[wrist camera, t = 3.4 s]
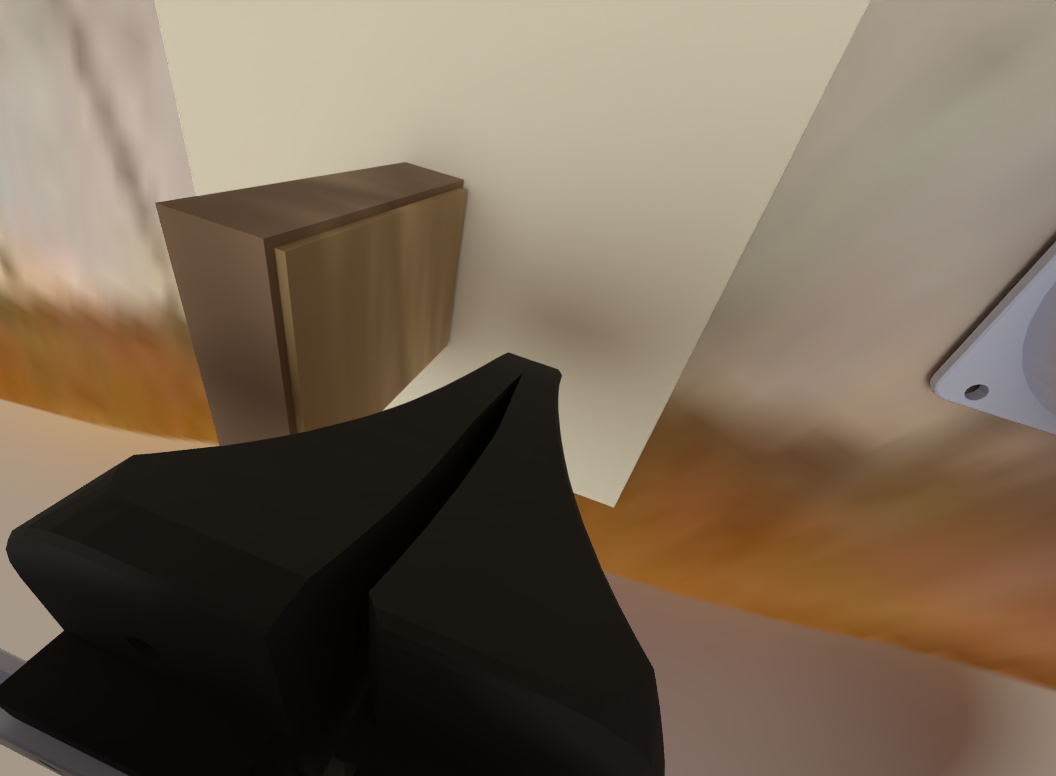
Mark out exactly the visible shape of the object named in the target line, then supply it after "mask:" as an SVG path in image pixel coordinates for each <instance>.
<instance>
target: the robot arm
mask: <svg viewBox="0 0 1056 776" xmlns="http://www.w3.org/2000/svg"><path fill="white" fill-rule="evenodd" d="M561 378H562V374H561V372H560V371H559V369H556V368H553V367H550V366H547V365H544V364H541V363H538V362H535V361H532V360H529V359H527V358H524V357H521V356H518V355H515V354H512V353H509V352H508V353H505V354H503V355H501V356H500V357H498V358H496V359H494V360H492V361H491V362H489V363H487V364H485V365H483V366H482V367H480V368H478V369H476V370H474V371H473V372H471V373H469V374H467V375H465V376H463V377H461V378H459V379H457V380H455V381H453V382H451V383H449V384H447V385H445V386H443V387H441V388H439V389H437V390H435V391H432V392H430V393H428V394H425V395H423V396H421V397H419V398H416V399H414V400H412V401H409V402H407V403H404V404H401V405H399V406H396V407H393V408H390V409H387V410H384V411H381V412H378V413H375V414H372V415H369V416H365V417H362V418H358V419H354V420H350V421H346V422H342V423H339V424H335V425H331V426H327V427H323V428H319V429H315V430H311V431H306V432H301V433H296V434H291V435H286V436H281V437H275V438H269V439H263V440H257V441H251V442H245V443H238V444H231V445H224V446H216V447H207V448H198V449H189V450H181V451H171V452H162V453H152V454H140V455H133V456H131V457H129V458H128V459H126V460H125V461H123V462H121V463H120V464H118V465H117V466H115V467H113V468H112V469H110V470H108V471H107V472H105V473H104V474H102V475H100V476H99V477H97V478H96V479H94V480H92V481H91V482H90V483H88V484H86V485H84V486H83V487H81V488H80V489H78V490H76V491H75V492H74V493H72V494H70V495H68V496H67V497H65V498H64V499H62V500H60V501H59V502H57V503H56V504H54V505H52V506H51V507H49V508H48V509H46V510H44V511H43V512H41V513H40V514H38V515H36V516H35V517H33V518H32V519H30V520H28V521H27V522H25V523H24V524H22V525H20V526H19V527H17V528H16V529H14V530H12V532H11V535H10V537H9V539H8V542H7V546H6V551H7V554H8V558H9V561H10V563H11V564H12V566H13V567H14V569H15V570H16V571H17V573H18V574H19V576H20V577H21V579H22V580H23V581H24V582H25V583H26V585H27V586H28V587H29V588H30V589H31V591H32V592H33V593H34V594H35V595H36V597H37V598H38V599H39V600H40V602H41V603H42V604H43V605H44V606H45V608H46V609H47V610H48V611H49V612H50V614H51V615H52V616H53V617H54V619H55V620H56V621H57V622H58V623H59V624H60V626H61V627H62V628H63V629H64V631H63V632H62V633H61V634H60V635H58V636H57V637H56V638H55V639H54V640H52V641H51V642H50V643H49V644H48V645H46V646H45V647H44V648H43V649H42V650H40V652H38V653H37V654H36V655H35V656H34V657H32V658H31V659H30V660H29V661H25V660H23V659H21V658H19V657H17V656H15V655H12V654H11V653H8V652H6V651H4V650H2V649H0V744H1V745H4V746H5V747H7V748H9V749H11V750H13V751H15V752H17V753H19V754H21V755H23V756H25V757H27V758H29V759H30V760H32V761H34V762H37V763H38V764H40V765H42V766H44V767H46V768H48V769H50V770H52V771H54V772H56V773H57V774H60V775H61V776H665V759H664V746H663V733H662V723H661V714H660V705H659V699H658V692H657V685H656V679H655V673H654V669H653V667H652V665H651V663H650V662H649V660H648V658H647V656H646V654H645V652H644V651H643V649H642V647H641V645H640V644H639V642H638V640H637V638H636V637H635V634H634V633H633V631H632V629H631V627H630V625H629V623H628V621H627V619H626V618H625V615H624V614H623V612H622V610H621V608H620V606H619V604H618V602H617V600H616V598H615V596H614V594H613V592H612V590H611V588H610V585H609V583H608V581H607V579H606V577H605V575H604V572H603V570H602V568H601V566H600V563H599V561H598V558H597V556H596V554H595V551H594V549H593V546H592V544H591V541H590V539H589V536H588V534H587V531H586V529H585V526H584V524H583V521H582V518H581V515H580V512H579V509H578V506H577V503H576V500H575V497H574V493H573V490H572V486H571V483H570V479H569V475H568V471H567V466H566V462H565V457H564V451H563V446H562V439H561V432H560V421H559V408H558V396H559V384H560V381H561ZM977 384H981V385H980V387H979V388H978V389H977V390H975V391H974V392H970V393H965V391H966V389H968V388H969V387H971V386H973V385H977ZM930 387H931V389H932V390H933V392H934V393H935V394H936V395H937V396H938V397H940V398H942V399H944V400H947V401H950V402H953V403H957V404H960V405H963V406H966V407H969V408H972V409H975V410H979V411H982V412H985V413H988V414H991V415H994V416H998V417H1001V418H1004V419H1007V420H1010V421H1013V422H1017V423H1020V424H1023V425H1026V426H1029V427H1032V428H1036V429H1039V430H1042V431H1045V432H1048V433H1051V434H1055V435H1056V242H1055V243H1054V244H1053V245H1052V246H1051V247H1050V248H1049V249H1048V250H1047V251H1046V253H1045V254H1044V255H1043V256H1042V257H1041V258H1040V259H1039V260H1038V261H1037V262H1036V263H1035V265H1034V266H1033V267H1032V268H1031V269H1030V270H1029V271H1028V272H1027V273H1026V274H1025V276H1024V277H1023V278H1022V279H1021V280H1020V281H1019V282H1018V283H1017V284H1016V285H1015V286H1014V288H1013V289H1012V290H1011V291H1010V292H1009V293H1008V294H1007V295H1006V296H1005V297H1004V299H1003V300H1002V301H1001V302H1000V303H999V304H998V305H997V306H996V307H995V308H994V309H993V311H992V312H991V313H990V314H989V315H988V316H987V317H986V318H985V319H984V320H983V322H982V323H981V324H980V325H979V326H978V327H977V328H976V329H975V330H974V331H973V332H972V334H971V335H970V336H969V337H968V338H967V339H966V340H965V341H964V342H963V343H962V345H961V346H960V347H959V348H958V349H957V350H956V351H955V352H954V353H953V354H952V355H951V357H950V358H949V359H948V360H947V361H946V362H945V363H944V364H943V365H942V366H941V368H940V369H939V370H938V371H937V372H936V373H935V374H934V375H933V377H932V379H931V380H930Z"/></svg>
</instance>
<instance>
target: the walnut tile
mask: <svg viewBox="0 0 1056 776" xmlns="http://www.w3.org/2000/svg"><path fill="white" fill-rule="evenodd" d="M463 185H464V179H460V178H457V177H454V176H450V175H447V174H444V173H440V172H437V171H433V170H430V169H427V168H423V167H420V166H417V165H413V164H410V163H407V162H402V163H396V164H390V165H384V166H378V167H372V168H366V169H360V170H354V171H347V172H341V173H335V174H329V175H323V176H317V177H311V178H305V179H299V180H292V181H286V182H280V183H274V184H268V185H262V186H256V187H250V188H244V189H237V190H231V191H225V192H219V193H213V194H207V195H201V196H195V197H188V198H182V199H176V200H170V201H164V202H158V203H155V204H156V208H157V211H158V215H159V219H160V223H161V226H162V230H163V234H164V238H165V241H166V245H167V249H168V253H169V256H170V260H171V264H172V268H173V271H174V275H175V279H176V283H177V286H178V290H179V294H180V298H181V301H182V305H183V309H184V313H185V316H186V320H187V324H188V328H189V331H190V335H191V339H192V343H193V347H194V350H195V354H196V358H197V362H198V365H199V369H200V373H201V377H202V380H203V384H204V388H205V392H206V395H207V399H208V403H209V407H210V410H211V414H212V418H213V422H214V425H215V429H216V433H217V437H218V440H219V444H220V446H224V445H231V444H238V443H245V442H251V441H257V440H263V439H269V438H275V437H281V436H286V435H291V434H296V433H301V432H306V431H311V430H315V429H319V428H323V427H327V426H331V425H335V424H339V423H342V422H346V421H350V420H354V419H358V418H362V417H365V416H369V415H372V414H375V413H378V412H381V411H383V410H384V409H385V408H386V407H387V406H388V405H389V404H390V403H391V402H392V401H393V400H394V399H395V398H396V397H397V396H398V395H399V394H400V393H401V392H402V391H403V390H404V389H405V388H406V387H407V386H408V385H409V383H410V382H411V381H412V380H413V379H414V378H415V377H416V376H417V375H418V374H419V373H420V372H421V371H422V370H423V369H424V368H425V367H426V366H427V365H428V364H429V363H430V362H431V361H432V360H433V359H434V358H435V357H436V356H437V355H438V354H439V353H440V352H441V351H442V350H443V349H444V348H445V347H446V346H447V344H448V336H449V328H450V320H451V312H452V304H453V296H454V288H455V280H456V272H457V264H458V256H459V248H460V240H461V232H462V224H463V216H464V208H465V200H466V192H467V189H465V188H463Z"/></svg>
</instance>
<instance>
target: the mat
mask: <svg viewBox="0 0 1056 776" xmlns="http://www.w3.org/2000/svg"><path fill="white" fill-rule="evenodd" d="M154 1H155V6H156V11H157V15H158V20H159V25H160V29H161V34H162V39H163V43H164V48H165V53H166V58H167V62H168V67H169V72H170V76H171V81H172V86H173V90H174V95H175V100H176V104H177V109H178V114H179V119H180V123H181V128H182V133H183V137H184V142H185V147H186V151H187V156H188V161H189V165H190V170H191V175H192V180H193V184H194V189H195V194H196V196H201V195H207V194H213V193H219V192H225V191H231V190H237V189H244V188H250V187H256V186H262V185H268V184H274V183H280V182H286V181H292V180H299V179H305V178H311V177H317V176H323V175H329V174H335V173H341V172H347V171H354V170H360V169H366V168H372V167H378V166H384V165H390V164H396V163H402V162H407V163H410V164H413V165H417V166H420V167H423V168H427V169H430V170H433V171H437V172H440V173H444V174H447V175H450V176H454V177H457V178H460V179H464V185H463V188H465V189H467V192H466V200H465V208H464V216H463V224H462V232H461V240H460V248H459V256H458V264H457V272H456V280H455V288H454V296H453V304H452V312H451V320H450V328H449V336H448V344H447V346H446V347H445V348H444V349H443V350H442V351H441V352H440V353H439V354H438V355H437V356H436V357H435V358H434V359H433V360H432V361H431V362H430V363H429V364H428V365H427V366H426V367H425V368H424V369H423V370H422V371H421V372H420V373H419V374H418V375H417V376H416V377H415V378H414V379H413V380H412V381H411V382H410V383H409V385H408V386H407V387H406V388H405V389H404V390H403V391H402V392H401V393H400V394H399V395H398V396H397V397H396V398H395V399H394V400H393V401H392V402H391V403H390V404H389V405H388V406H387V407H386V408H385V409H384V410H387V409H390V408H393V407H396V406H399V405H401V404H404V403H407V402H409V401H412V400H414V399H416V398H419V397H421V396H423V395H425V394H428V393H430V392H432V391H435V390H437V389H439V388H441V387H443V386H445V385H447V384H449V383H451V382H453V381H455V380H457V379H459V378H461V377H463V376H465V375H467V374H469V373H471V372H473V371H474V370H476V369H478V368H480V367H482V366H483V365H485V364H487V363H489V362H491V361H492V360H494V359H496V358H498V357H500V356H501V355H503V354H505V353H508V352H509V353H512V354H515V355H518V356H521V357H524V358H527V359H529V360H532V361H535V362H538V363H541V364H544V365H547V366H550V367H553V368H556V369H559V371H560V372H561V374H562V378H561V381H560V384H559V396H558V408H559V421H560V432H561V439H562V446H563V451H564V457H565V462H566V466H567V471H568V475H569V479H570V483H571V486H572V490H573V492H574V493H576V494H579V495H582V496H584V497H587V498H590V499H592V500H595V501H598V502H600V503H603V504H606V505H609V506H611V507H614V506H615V504H616V502H617V500H618V498H619V496H620V494H621V492H622V490H623V488H624V486H625V484H626V482H627V480H628V479H629V477H630V475H631V473H632V471H633V469H634V467H635V465H636V463H637V461H638V459H639V457H640V455H641V453H642V451H643V449H644V447H645V445H646V443H647V441H648V439H649V437H650V435H651V433H652V431H653V429H654V427H655V425H656V423H657V421H658V419H659V417H660V415H661V413H662V411H663V409H664V407H665V405H666V403H667V401H668V399H669V397H670V396H671V394H672V392H673V390H674V388H675V386H676V384H677V382H678V380H679V378H680V376H681V374H682V372H683V370H684V368H685V366H686V364H687V362H688V360H689V358H690V356H691V354H692V352H693V350H694V348H695V346H696V344H697V342H698V340H699V338H700V336H701V334H702V332H703V330H704V328H705V326H706V324H707V322H708V320H709V318H710V316H711V314H712V313H713V311H714V309H715V307H716V305H717V303H718V301H719V299H720V297H721V295H722V293H723V291H724V289H725V287H726V285H727V283H728V281H729V279H730V277H731V275H732V273H733V271H734V269H735V267H736V265H737V263H738V261H739V259H740V257H741V255H742V253H743V251H744V249H745V247H746V245H747V243H748V241H749V239H750V237H751V235H752V233H753V231H754V230H755V228H756V226H757V224H758V222H759V220H760V218H761V216H762V214H763V212H764V210H765V208H766V206H767V204H768V202H769V200H770V198H771V196H772V194H773V192H774V190H775V188H776V186H777V184H778V182H779V180H780V178H781V176H782V174H783V172H784V170H785V168H786V166H787V164H788V162H789V160H790V158H791V156H792V154H793V152H794V150H795V148H796V147H797V145H798V143H799V141H800V139H801V137H802V135H803V133H804V131H805V129H806V127H807V125H808V123H809V121H810V119H811V117H812V115H813V113H814V111H815V109H816V107H817V105H818V103H819V101H820V99H821V97H822V95H823V93H824V91H825V89H826V87H827V85H828V83H829V81H830V79H831V77H832V75H833V73H834V71H835V69H836V67H837V65H838V63H839V62H840V60H841V58H842V56H843V54H844V52H845V50H846V48H847V46H848V44H849V42H850V40H851V38H852V36H853V34H854V32H855V30H856V28H857V26H858V24H859V22H860V20H861V18H862V16H863V14H864V12H865V10H866V8H867V6H868V4H869V2H870V0H154ZM384 410H383V411H384Z"/></svg>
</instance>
